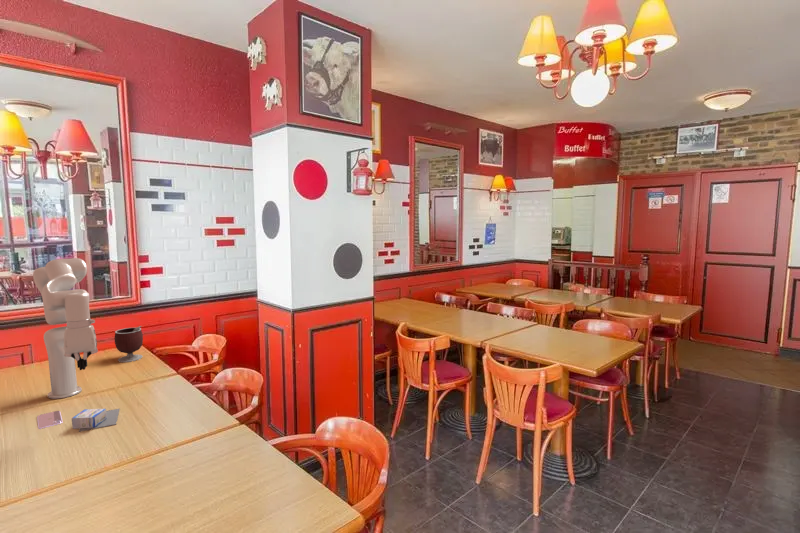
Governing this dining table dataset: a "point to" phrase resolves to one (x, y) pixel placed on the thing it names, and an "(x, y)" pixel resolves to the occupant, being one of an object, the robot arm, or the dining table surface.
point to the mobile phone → (49, 419)
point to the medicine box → (89, 418)
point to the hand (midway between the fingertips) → (82, 368)
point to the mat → (106, 420)
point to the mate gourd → (129, 343)
